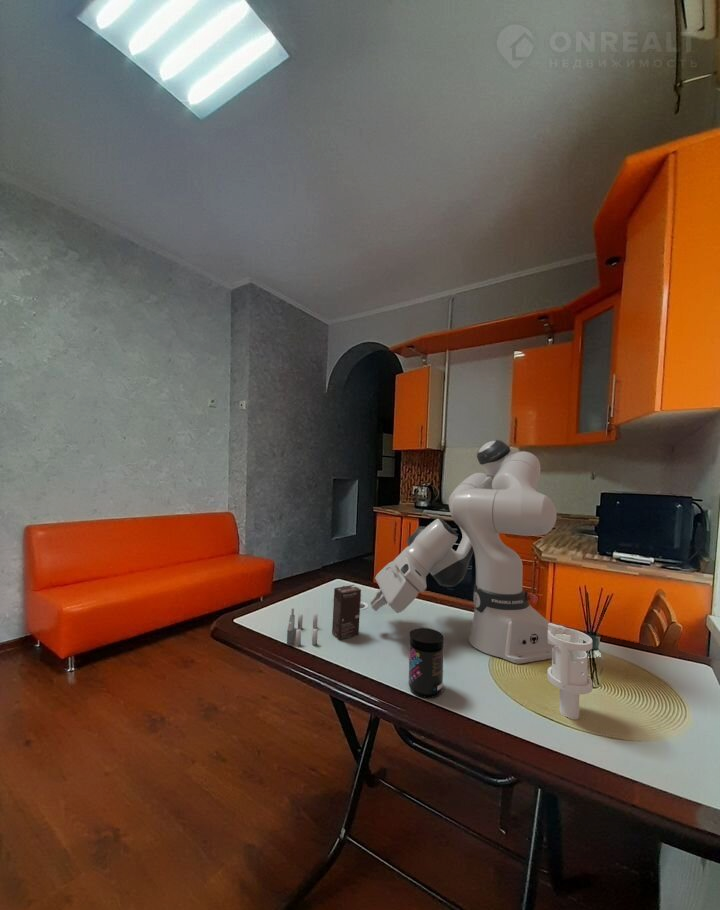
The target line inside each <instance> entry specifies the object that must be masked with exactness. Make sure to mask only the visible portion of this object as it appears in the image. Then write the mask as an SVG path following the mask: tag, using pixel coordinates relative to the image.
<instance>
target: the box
mask: <svg viewBox="0 0 720 910" xmlns="http://www.w3.org/2000/svg"><path fill="white" fill-rule="evenodd" d="M333 590H334V591H333V606H332V607H333V608H332V611H333V612H332V625H331V626H332V629H331V634H332V636H333V637H335V638H336V639H338V640H339V641H341V640H345V639H349V638H353V637H356V636H359V635H360V633H359V632H360V616H361V615H360V614H361V610H360V609H361V603H360V599H361V600H362V589H360V588H359V587H357V586H356V585H354V584H352V585H343V586H339V587H335V588H334V589H333Z"/></svg>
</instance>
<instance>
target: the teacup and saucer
mask: <svg viewBox="0 0 720 910" xmlns="http://www.w3.org/2000/svg"><path fill="white" fill-rule="evenodd" d="M362 603H363V605H364V607H362V608H361V607H360V611H363V610H365V609H367V608H368V607H369V604H368V603H367V602H364V601H362V598H361V599H360V604H362Z"/></svg>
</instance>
